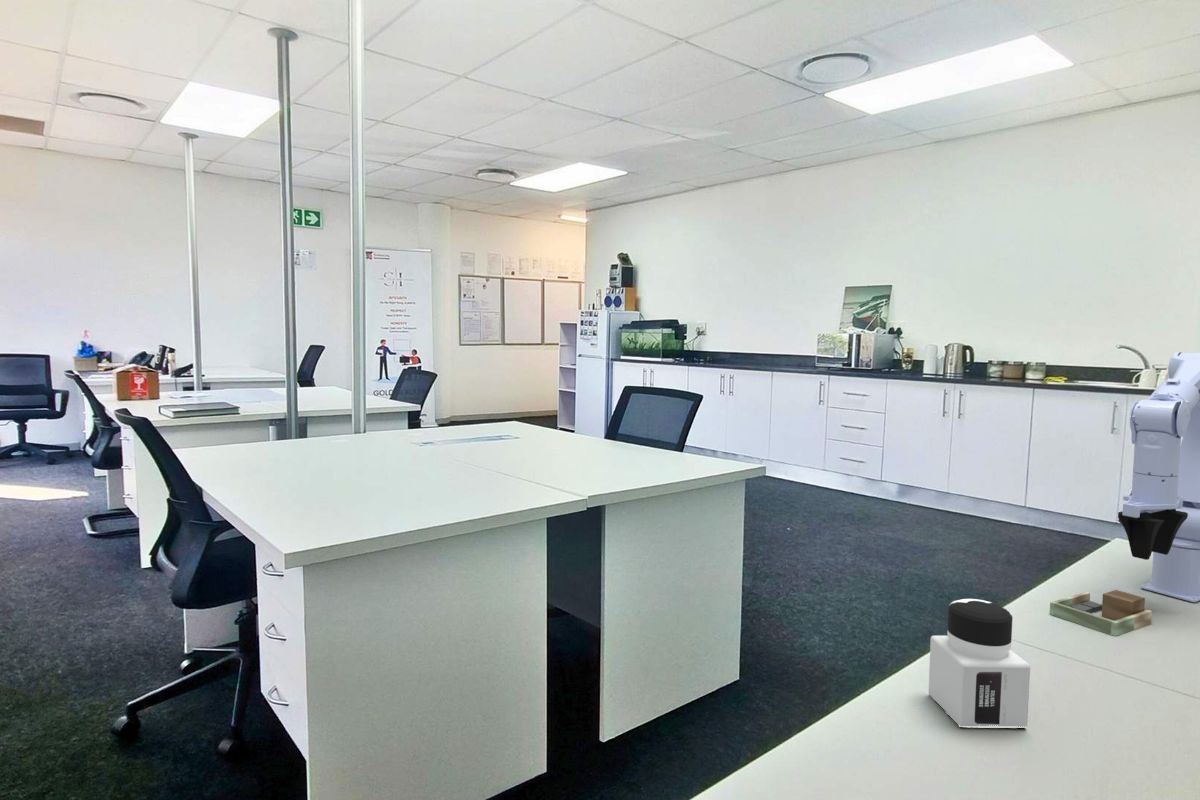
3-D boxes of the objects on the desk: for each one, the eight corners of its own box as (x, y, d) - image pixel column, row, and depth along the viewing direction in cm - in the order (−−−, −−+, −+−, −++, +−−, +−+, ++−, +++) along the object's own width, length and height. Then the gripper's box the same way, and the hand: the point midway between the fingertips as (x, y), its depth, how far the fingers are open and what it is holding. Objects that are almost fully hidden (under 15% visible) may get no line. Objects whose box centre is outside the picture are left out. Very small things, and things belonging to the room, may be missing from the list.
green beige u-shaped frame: (1085, 603, 113) (1086, 591, 113) (1151, 623, 105) (1152, 611, 104) (1049, 614, 108) (1050, 602, 108) (1115, 636, 100) (1116, 623, 100)
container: (1028, 730, 75) (1034, 618, 74) (959, 729, 75) (964, 617, 74) (989, 695, 83) (994, 593, 82) (927, 694, 83) (931, 592, 82)
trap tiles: (1089, 605, 112) (1089, 600, 112) (1102, 609, 110) (1103, 604, 110) (1070, 611, 109) (1070, 606, 109) (1083, 615, 108) (1084, 610, 108)
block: (1114, 613, 109) (1116, 589, 109) (1143, 622, 105) (1145, 597, 105) (1101, 617, 107) (1102, 593, 107) (1130, 627, 104) (1131, 602, 103)
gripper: (1149, 466, 115) (1144, 543, 116) (1103, 473, 108) (1098, 554, 109) (1200, 473, 108) (1195, 554, 109) (1154, 480, 102) (1149, 567, 103)
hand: (1150, 555), depth 109 cm, fingers open, 5 cm apart
